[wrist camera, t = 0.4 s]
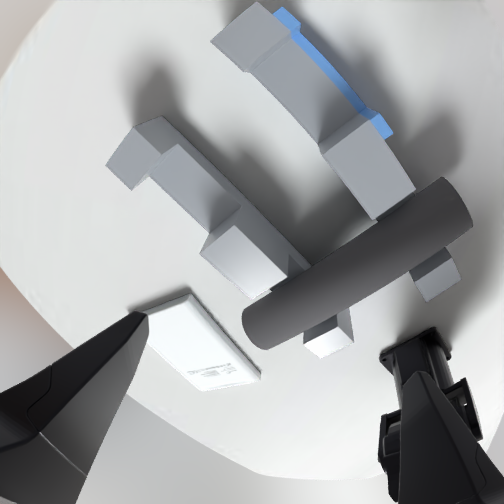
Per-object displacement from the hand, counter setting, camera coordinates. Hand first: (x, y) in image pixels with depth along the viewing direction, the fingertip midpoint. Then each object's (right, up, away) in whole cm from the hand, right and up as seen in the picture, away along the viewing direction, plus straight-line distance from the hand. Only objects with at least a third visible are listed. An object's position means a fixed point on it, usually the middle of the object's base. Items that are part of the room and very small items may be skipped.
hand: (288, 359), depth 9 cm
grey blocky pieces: (+2, +7, +11) cm, 13 cm away
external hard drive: (-7, -6, +21) cm, 23 cm away
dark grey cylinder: (+5, +3, +11) cm, 12 cm away
